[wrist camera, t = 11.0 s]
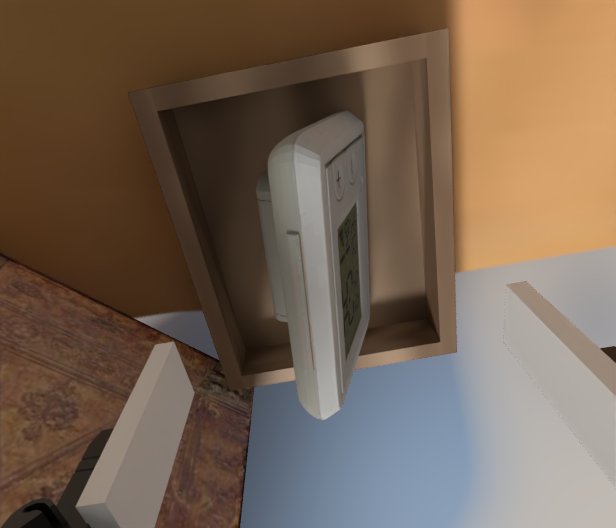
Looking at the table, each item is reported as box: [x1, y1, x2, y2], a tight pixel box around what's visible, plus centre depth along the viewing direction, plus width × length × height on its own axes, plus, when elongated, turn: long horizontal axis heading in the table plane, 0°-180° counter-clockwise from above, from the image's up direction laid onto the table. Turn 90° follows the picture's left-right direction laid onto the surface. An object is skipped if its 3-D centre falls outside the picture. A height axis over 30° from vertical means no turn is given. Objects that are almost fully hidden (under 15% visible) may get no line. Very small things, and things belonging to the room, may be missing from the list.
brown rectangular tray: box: [128, 28, 457, 391], centre depth 28 cm, size 17×21×4 cm
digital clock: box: [256, 110, 370, 420], centre depth 24 cm, size 16×9×11 cm, turn 174°
